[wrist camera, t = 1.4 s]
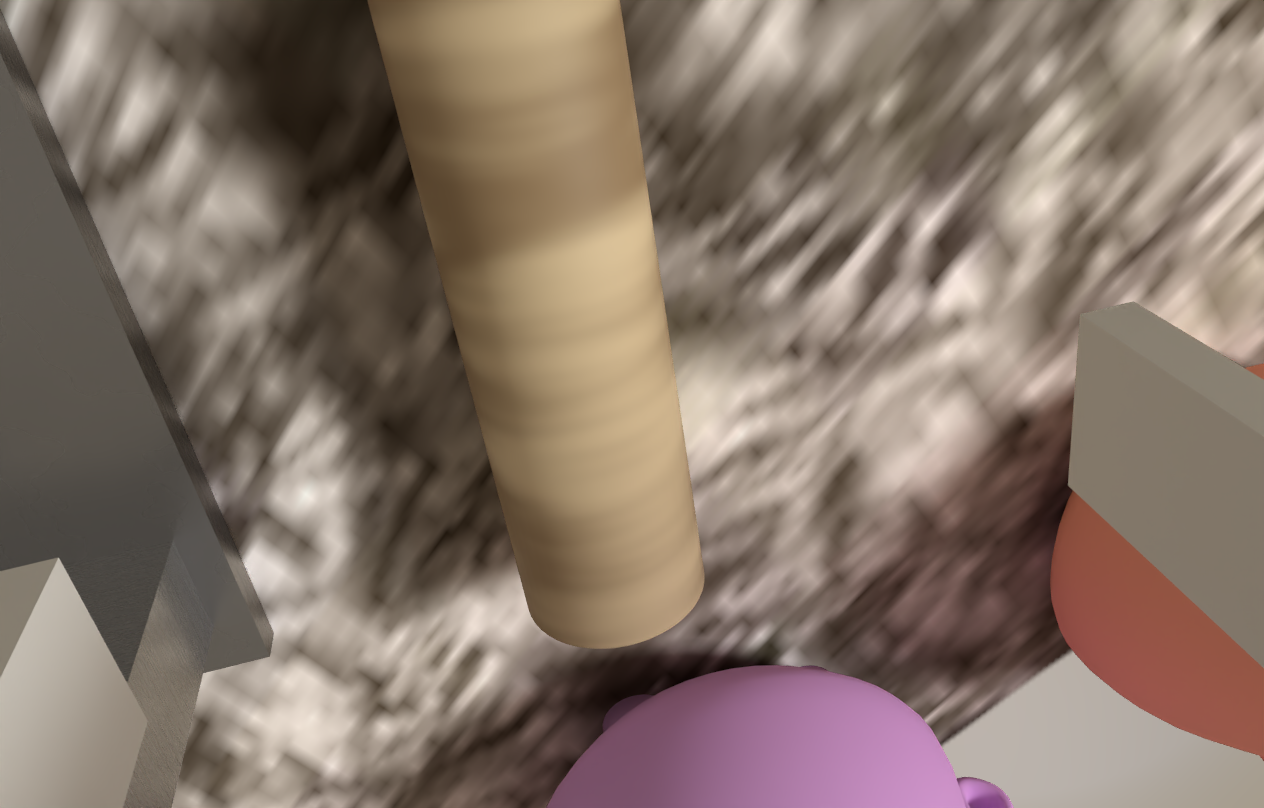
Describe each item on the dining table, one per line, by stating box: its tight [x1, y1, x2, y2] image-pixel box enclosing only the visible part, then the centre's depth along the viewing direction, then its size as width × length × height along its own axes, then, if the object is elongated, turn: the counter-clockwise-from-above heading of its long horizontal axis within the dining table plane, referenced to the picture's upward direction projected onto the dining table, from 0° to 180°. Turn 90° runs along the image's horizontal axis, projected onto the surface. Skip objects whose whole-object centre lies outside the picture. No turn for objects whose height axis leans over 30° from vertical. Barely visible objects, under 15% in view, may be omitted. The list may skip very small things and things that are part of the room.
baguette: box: [367, 0, 704, 649], centre depth 23 cm, size 22×5×5 cm, turn 9°
